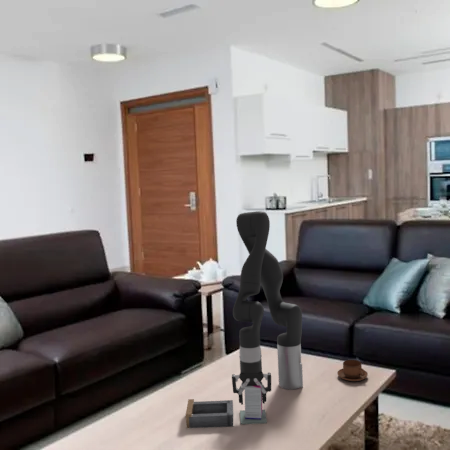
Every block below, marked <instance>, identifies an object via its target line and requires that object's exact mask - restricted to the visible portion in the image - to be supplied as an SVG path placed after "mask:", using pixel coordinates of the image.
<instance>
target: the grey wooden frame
mask: <svg viewBox="0 0 450 450" xmlns="http://www.w3.org/2000/svg"><path fill="white" fill-rule="evenodd" d="M185 425H186V429H205V428H206V429H207V428H227V427H231V428H232V427H234V401H233V400H232V399H230V400H226V399H225V400H206V401H205V400H204V401H195V399H194V398H192V399H190V398H189V399H188V400H187V406H186V410H185Z"/></svg>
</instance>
